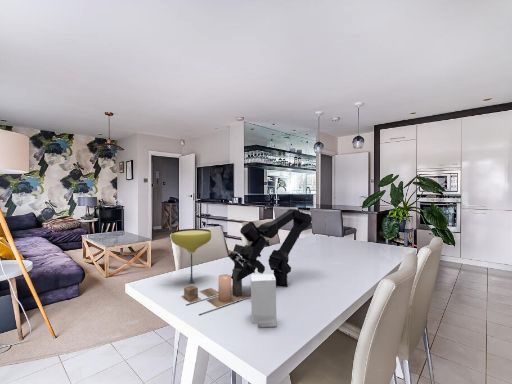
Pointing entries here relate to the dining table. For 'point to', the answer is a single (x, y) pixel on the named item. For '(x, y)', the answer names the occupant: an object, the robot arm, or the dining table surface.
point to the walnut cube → (190, 292)
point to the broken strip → (206, 292)
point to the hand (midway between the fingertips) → (234, 279)
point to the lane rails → (216, 308)
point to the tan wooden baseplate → (236, 293)
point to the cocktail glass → (191, 241)
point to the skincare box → (263, 300)
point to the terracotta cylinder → (224, 288)
